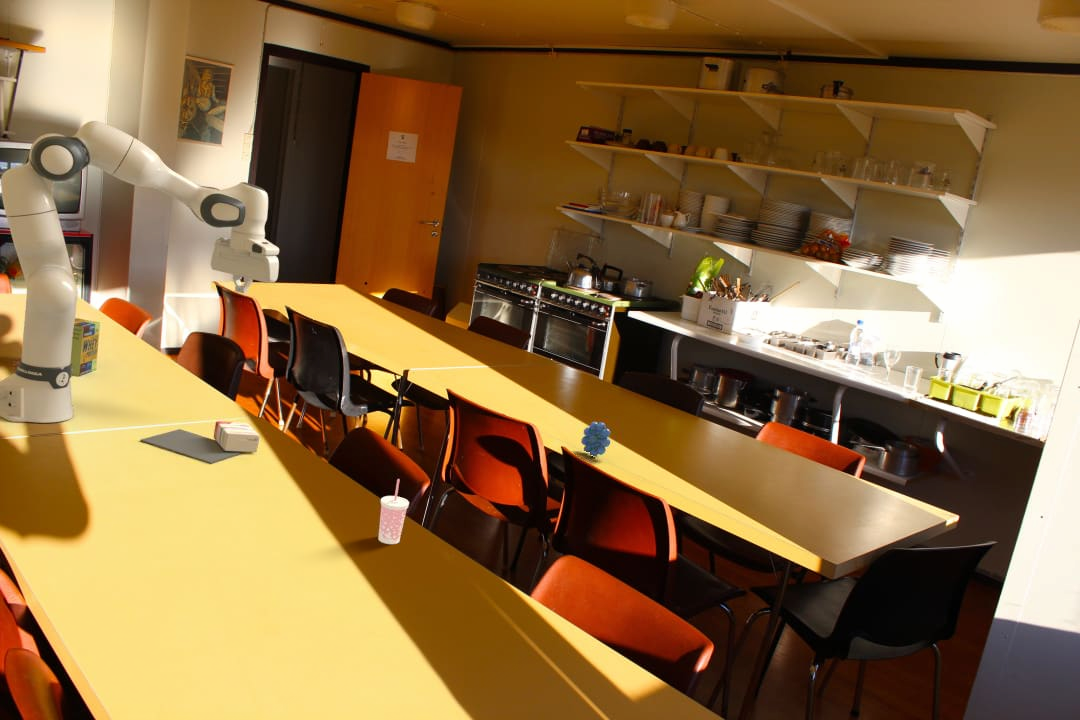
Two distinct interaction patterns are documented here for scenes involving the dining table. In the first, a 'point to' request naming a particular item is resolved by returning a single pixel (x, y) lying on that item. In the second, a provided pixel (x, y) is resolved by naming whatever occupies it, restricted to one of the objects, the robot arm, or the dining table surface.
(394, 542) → the beverage cup
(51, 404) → the robot arm
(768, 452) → the dining table surface
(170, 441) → the mat
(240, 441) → the ink box
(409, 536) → the dining table surface
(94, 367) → the protein box
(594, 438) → the grapes
